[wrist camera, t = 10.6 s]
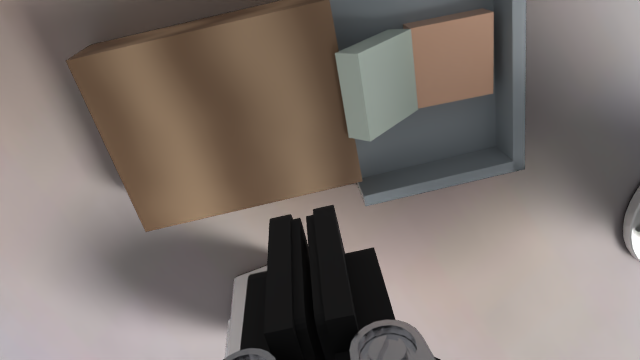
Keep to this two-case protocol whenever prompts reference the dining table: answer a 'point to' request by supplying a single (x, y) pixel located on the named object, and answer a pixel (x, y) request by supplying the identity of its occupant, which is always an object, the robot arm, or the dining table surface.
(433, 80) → the terracotta tile
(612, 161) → the dining table surface
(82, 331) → the dining table surface
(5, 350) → the dining table surface
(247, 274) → the jar
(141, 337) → the dining table surface
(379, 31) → the tray
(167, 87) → the tan cardboard box
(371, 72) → the sage tile
